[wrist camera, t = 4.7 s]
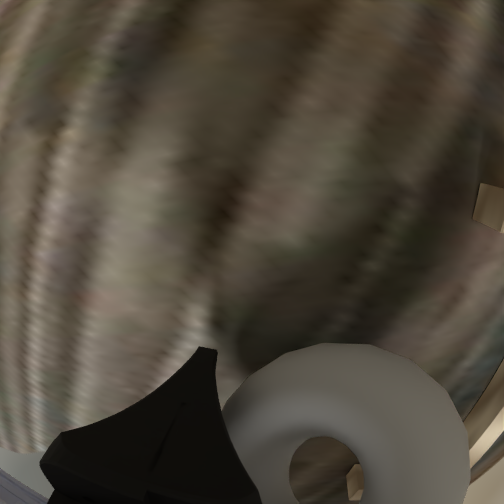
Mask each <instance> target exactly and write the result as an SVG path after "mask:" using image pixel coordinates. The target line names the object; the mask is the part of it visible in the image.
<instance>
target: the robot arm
mask: <svg viewBox="0 0 504 504" xmlns="http://www.w3.org/2000/svg"><path fill="white" fill-rule="evenodd" d="M217 355H218V353H217V350H214V349H210V348H205V347H200V346H199V347H198V349H197V350H196V352H195V353H194V354H193V355H192V356H191V358H190V359H189V360H188V361H187V362H186V363H185V364H184V365H183V366H182V367H181V368H180V369H179V370H178V371H177V372H176V373H175V374H174V375H173V376H171V377H170V378H169V379H168V380H167V381H166V382H164V383H163V384H162V385H161V386H159V387H158V388H157V389H156V390H154V391H153V392H152V393H150V394H149V395H147V396H146V397H145V398H143V399H141V400H140V401H138V402H137V403H135V404H133V405H132V406H130V407H128V408H126V409H124V410H123V411H121V412H119V413H117V414H115V415H112V416H110V417H108V418H105V419H103V420H100V421H98V422H95V423H93V424H90V425H87V426H84V427H80V428H77V429H73V430H69V431H65V432H61V433H60V434H59V436H58V437H57V438H56V439H55V440H54V441H53V442H52V444H51V445H50V446H49V448H48V449H47V451H46V452H45V454H44V455H43V457H42V459H41V460H40V468H41V470H42V472H43V473H44V475H45V476H46V478H47V479H48V481H49V482H50V484H51V485H52V486H53V488H54V489H55V490H54V491H53V493H52V495H51V497H50V499H48V498H46V497H44V496H42V495H41V494H39V493H37V492H35V491H34V490H32V489H30V488H29V487H27V486H26V485H24V484H23V483H21V482H20V481H18V480H16V479H15V478H13V477H12V476H11V475H9V474H8V473H6V472H5V471H3V470H2V469H1V468H0V504H262V501H261V498H260V494H259V491H258V488H257V487H256V485H255V484H254V482H253V481H252V479H251V478H250V476H249V475H248V473H247V471H246V470H245V468H244V466H243V464H242V462H241V460H240V459H239V457H238V454H237V452H236V450H235V448H234V446H233V443H232V441H231V439H230V436H229V434H228V431H227V428H226V425H225V422H224V419H223V416H222V412H221V408H220V403H219V399H218V393H217V386H216V376H215V370H216V362H217Z"/></svg>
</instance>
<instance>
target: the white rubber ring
mask: <svg viewBox="0 0 504 504" xmlns="http://www.w3.org/2000/svg"><path fill="white" fill-rule="evenodd" d="M221 412H222V416H223V419H224V422H225V425H226V428H227V431H228V434H229V436H230V439H231V441H232V443H233V446H234V448H235V450H236V452H237V454H238V457H239V459H240V460H241V462H242V464H243V466H244V468H245V470H246V471H247V473H248V475H249V476H250V478H251V479H252V481H253V482H254V484H255V485H256V487H257V488H258V491H259V494H260V498H261V501H262V504H300V503H299V502H298V500H297V499H296V498H295V496H294V494H293V491H292V489H291V486H290V483H289V467H290V463H291V459H292V456H293V454H294V452H295V451H296V449H297V448H298V447H299V446H300V445H301V444H302V443H304V442H305V441H306V440H307V439H309V438H312V437H319V436H328V437H332V438H335V439H336V440H338V441H340V442H341V443H343V444H345V445H347V446H348V448H349V449H350V450H351V451H352V452H353V453H354V454H355V455H356V457H357V458H358V460H359V463H360V465H361V468H362V470H363V476H364V489H363V493H362V496H361V499H360V502H359V504H462V503H463V501H464V498H465V495H466V492H467V489H468V486H469V482H470V457H469V443H468V432H467V430H466V428H465V426H464V424H463V422H462V420H461V418H460V416H459V414H458V412H457V410H456V408H455V406H454V404H453V402H452V400H451V398H450V396H449V394H448V393H447V391H446V389H444V388H443V387H442V386H441V385H440V384H439V383H438V382H436V381H435V380H434V379H433V378H432V377H431V376H429V375H428V374H427V373H426V372H425V371H424V370H423V369H421V368H420V367H419V366H418V365H417V364H416V363H414V362H413V361H412V360H410V359H408V358H405V357H402V356H400V355H397V354H394V353H392V352H389V351H386V350H384V349H381V348H379V347H376V346H373V345H371V344H342V343H320V344H316V345H313V346H309V347H306V348H302V349H299V350H295V351H291V352H287V353H285V354H283V355H282V356H280V357H278V358H277V359H275V360H274V361H272V362H271V363H269V364H267V365H266V366H264V367H263V368H261V369H259V370H258V371H256V372H255V373H253V374H251V375H250V376H249V377H248V378H247V379H246V380H245V381H244V382H243V383H242V385H241V386H240V387H239V388H238V389H237V390H236V391H235V392H234V393H233V395H232V396H231V397H230V398H229V399H228V400H227V401H226V403H225V405H224V407H223V409H222V411H221Z"/></svg>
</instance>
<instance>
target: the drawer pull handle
mask: <svg viewBox="0 0 504 504" xmlns="http://www.w3.org/2000/svg"><path fill="white" fill-rule="evenodd" d="M472 219H473V220H475V221H478V222H480V223H482V224H484V225H486V226H488V227H490V228H493V229H495V230H497V231H499V232H501V233H504V189H503V188H500V187H496V186H492V185H488V184H484V183H480V188H479V193H478V197H477V201H476V206H475V210H474V214H473V218H472ZM463 424H464V426H465V428H466V430H467V432H468V443H469V457H470V468H471V467H472V466H473V465H474V464H475V463H476V462H477V461H478V460H479V459H480V458H481V457H482V455H483V454H484V453H485V452H486V451H487V450H488V449H489V447H490V446H491V445H492V444H493V443H494V442H495V440H496V439H497V438H498V437H499V435H500V434H501V433H502V432H503V430H504V359H503V361H502V363H501V365H500V366H499V368H498V370H497V372H496V373H495V375H494V377H493V378H492V380H491V382H490V383H489V385H488V386H487V388H486V390H485V391H484V393H483V394H482V396H481V397H480V399H479V400H478V402H477V403H476V405H475V406H474V408H473V409H472V411H471V412H470V413H469V415H468V416H467V418H466V419H465V420H464V422H463ZM346 480H347V488H348V497H349V500H360V499H361V496H362V493H363V489H364V476H363V470H362V468H361V465H360V464H355V465H354V466H353V467H352V469H351V470H350V471H349V473H348V474H347V475H346Z"/></svg>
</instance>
